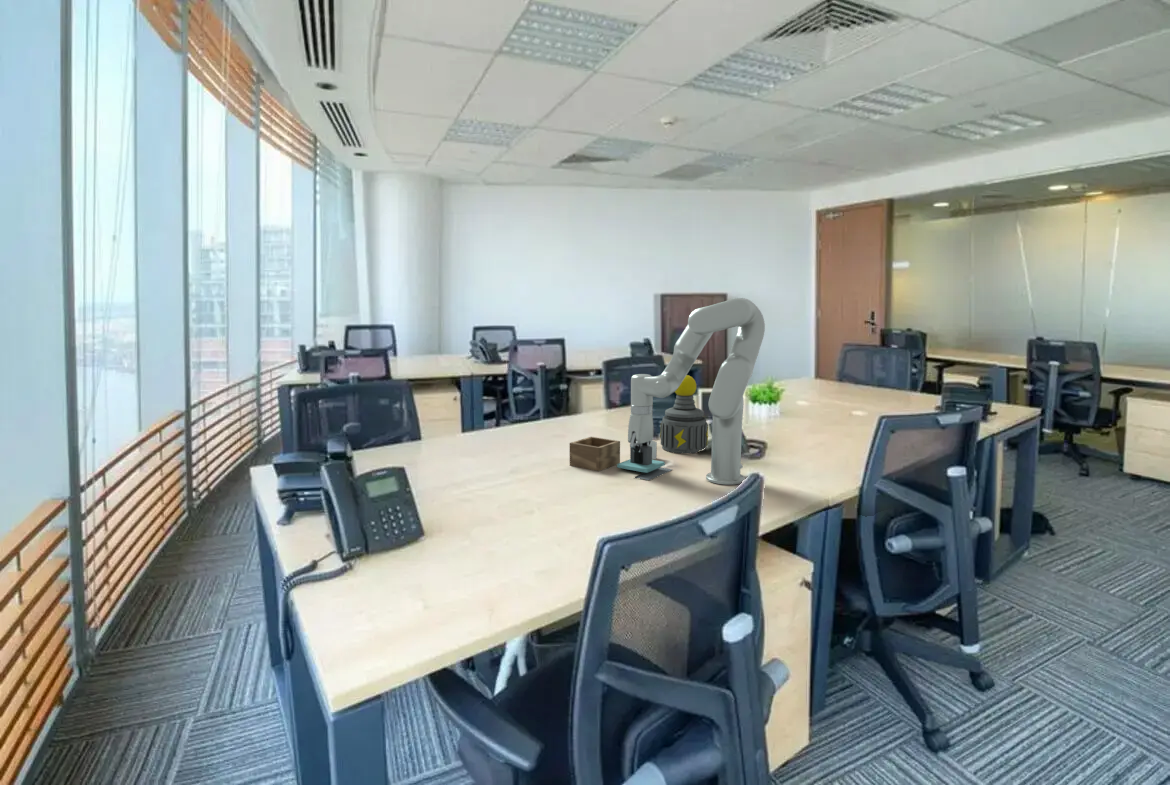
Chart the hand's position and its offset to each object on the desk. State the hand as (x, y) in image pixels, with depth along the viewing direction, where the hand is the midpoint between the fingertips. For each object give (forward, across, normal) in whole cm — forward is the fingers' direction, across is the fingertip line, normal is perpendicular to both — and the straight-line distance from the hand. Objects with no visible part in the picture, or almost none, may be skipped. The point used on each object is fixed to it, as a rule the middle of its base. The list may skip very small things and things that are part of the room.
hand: (641, 461), depth 217 cm
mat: (+4, 0, 0) cm, 4 cm away
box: (+4, +4, -17) cm, 18 cm away
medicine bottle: (+4, -15, -8) cm, 17 cm away
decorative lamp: (+4, -39, -4) cm, 39 cm away
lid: (+2, 0, 0) cm, 2 cm away
